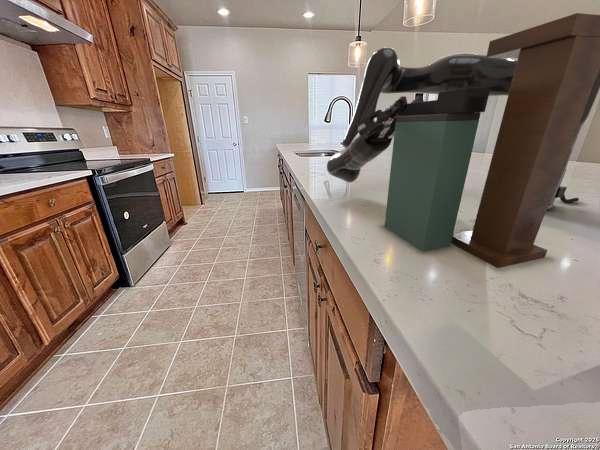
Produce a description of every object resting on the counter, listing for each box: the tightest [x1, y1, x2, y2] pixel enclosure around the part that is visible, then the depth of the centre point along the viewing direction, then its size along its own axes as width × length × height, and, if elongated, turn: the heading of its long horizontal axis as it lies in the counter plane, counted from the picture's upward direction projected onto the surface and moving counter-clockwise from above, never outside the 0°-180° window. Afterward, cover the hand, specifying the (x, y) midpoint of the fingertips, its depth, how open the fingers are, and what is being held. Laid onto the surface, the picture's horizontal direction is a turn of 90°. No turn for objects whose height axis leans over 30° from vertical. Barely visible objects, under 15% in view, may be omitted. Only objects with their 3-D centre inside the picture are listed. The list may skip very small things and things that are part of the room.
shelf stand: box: [451, 12, 600, 269], centre depth 38 cm, size 10×11×32 cm
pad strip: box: [389, 88, 490, 116], centre depth 41 cm, size 4×18×3 cm, turn 15°
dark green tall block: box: [384, 112, 482, 252], centre depth 45 cm, size 6×12×22 cm, turn 15°
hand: (413, 100), depth 45 cm, fingers closed on pad strip, 3 cm apart
